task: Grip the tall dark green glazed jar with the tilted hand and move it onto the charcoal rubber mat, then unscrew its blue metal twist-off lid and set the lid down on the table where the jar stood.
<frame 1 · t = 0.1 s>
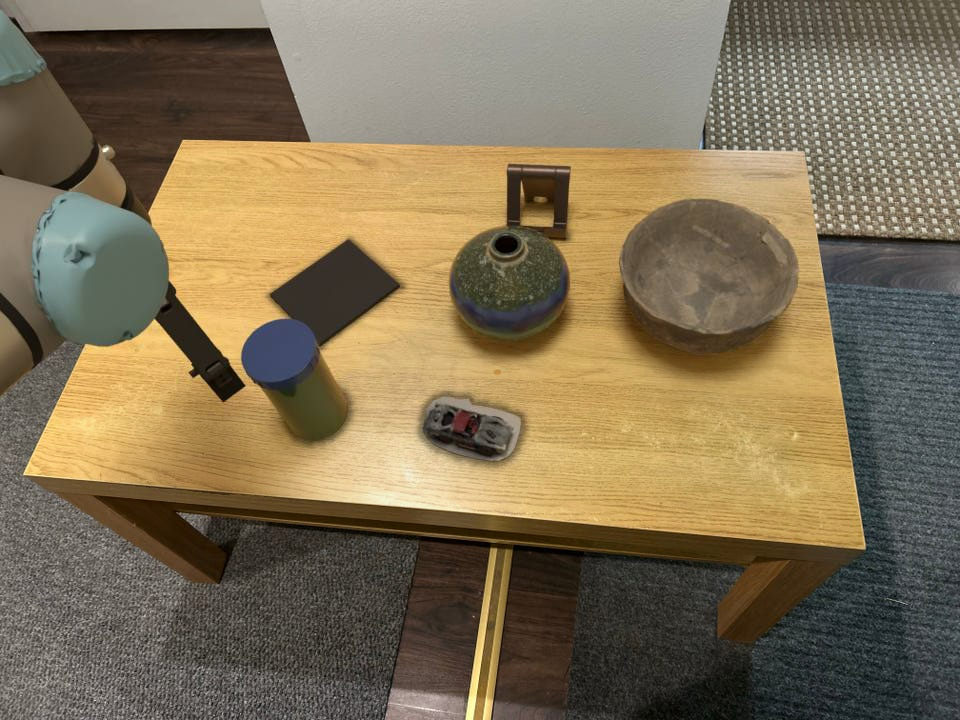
hand: (199, 351, 72), 17 cm above the table, tool pointing down, fingers open, 13 cm apart
mat: (335, 291, 96), on the table
bowl: (692, 310, 90), on the table
vase: (511, 310, 92), on the table
toy car: (471, 429, 84), on the table
jar: (317, 413, 86), on the table
tablet stand: (537, 219, 101), on the table
lid: (279, 351, 74), point 15 cm above the table, screwed on, not yet turned
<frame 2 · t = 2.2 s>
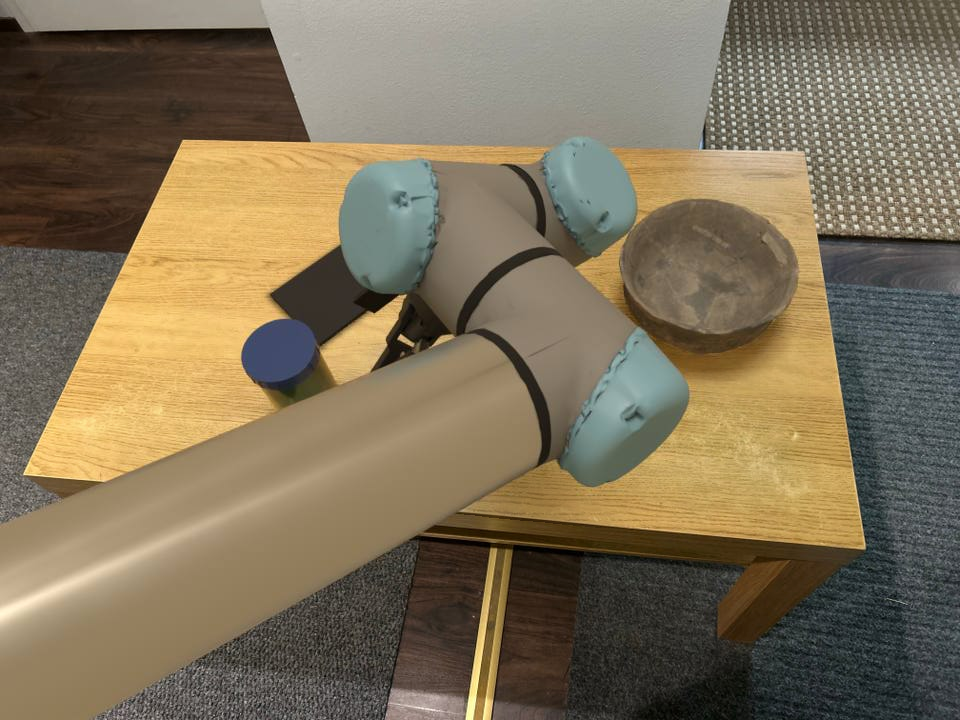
hand: (349, 359, 71), 16 cm above the table, tool tilted 40°, fingers open, 13 cm apart
nothing on the table moved.
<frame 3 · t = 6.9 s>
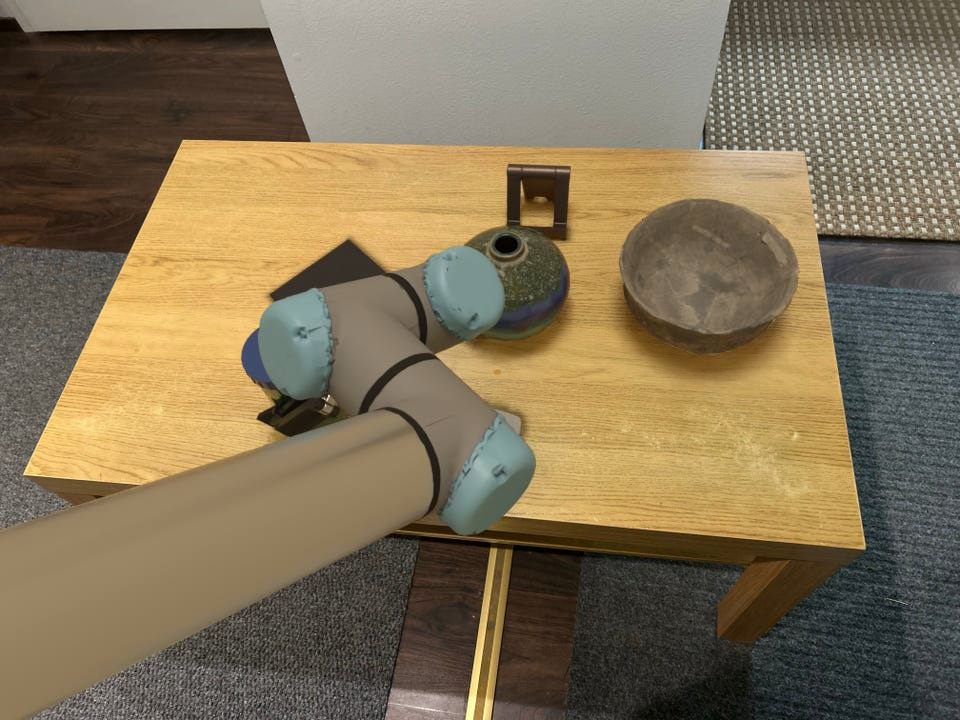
hand: (280, 391, 83), 5 cm above the table, tool tilted 45°, fingers closed on jar, 8 cm apart
jar: (317, 413, 86), on the table, touching gripper
everything else where it was.
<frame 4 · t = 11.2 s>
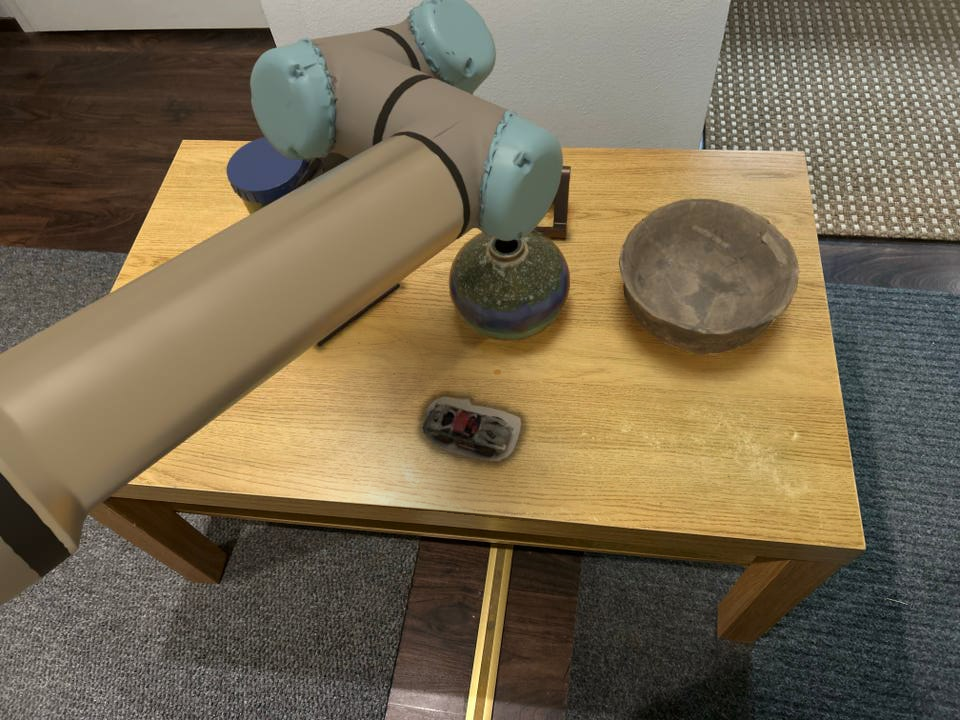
hand: (269, 227, 81), 17 cm above the table, tool tilted 45°, fingers closed on jar, 8 cm apart
jar: (307, 256, 84), point 12 cm above the table, touching gripper
lid: (266, 165, 72), point 27 cm above the table, screwed on, not yet turned
everything else where it was.
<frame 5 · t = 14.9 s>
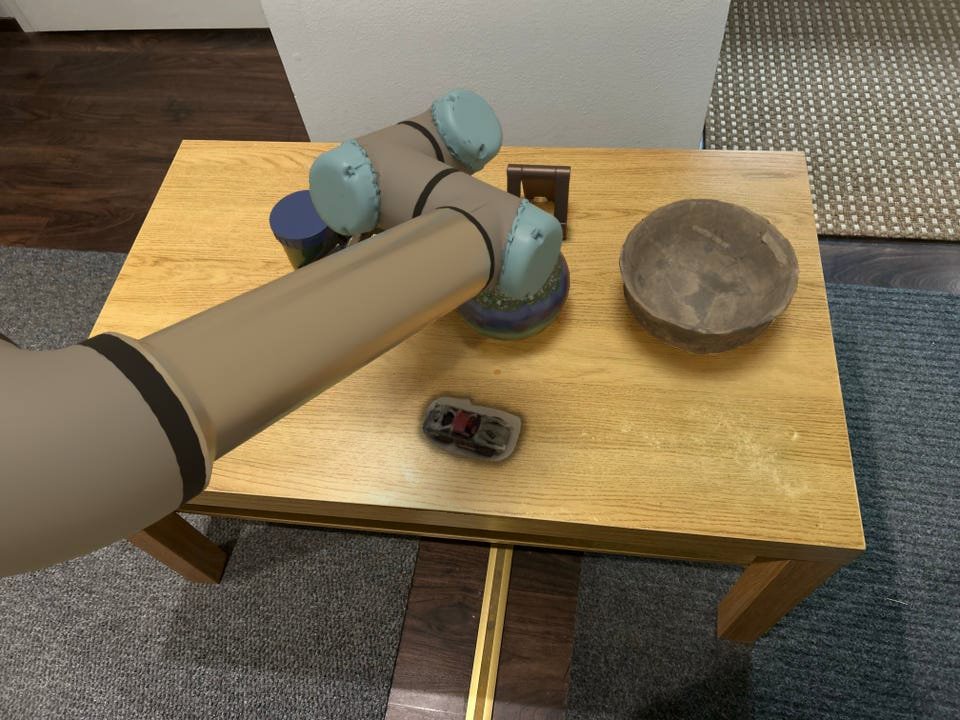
hand: (301, 265, 93), 5 cm above the table, tool tilted 45°, fingers closed on jar, 8 cm apart
jar: (334, 289, 96), point 1 cm above the table, touching gripper, mat
lid: (303, 216, 83), point 15 cm above the table, screwed on, not yet turned
everything else where it was.
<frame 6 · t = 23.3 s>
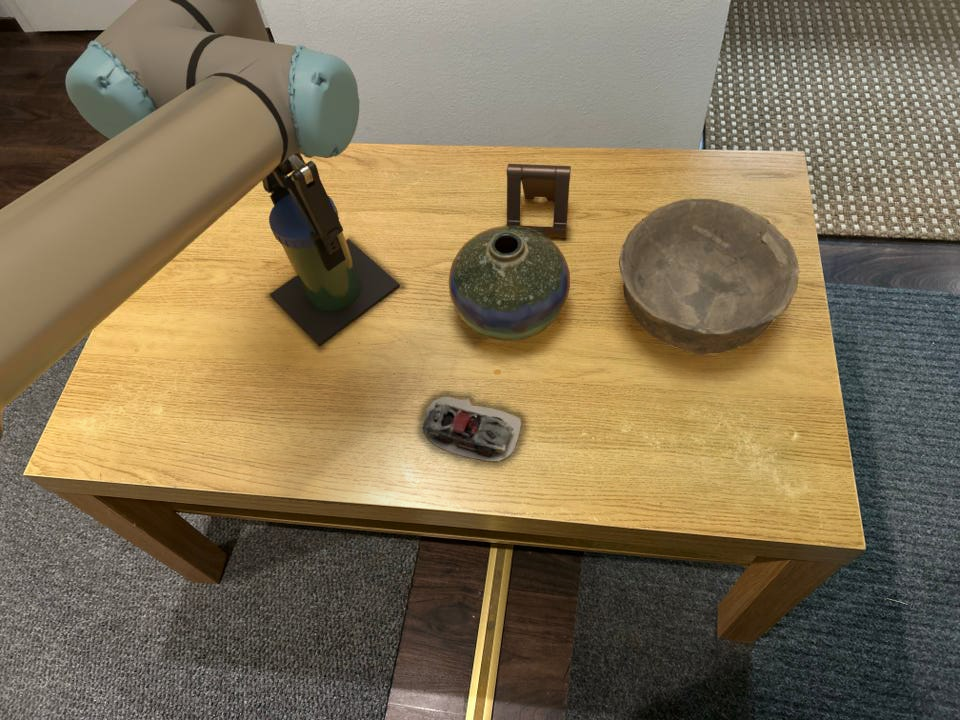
hand: (315, 245, 88), 10 cm above the table, tool pointing down, fingers closed on lid, 8 cm apart
jar: (334, 289, 96), point 1 cm above the table, touching mat
lid: (302, 215, 83), point 15 cm above the table, screwed on, not yet turned, touching gripper
everything else where it was.
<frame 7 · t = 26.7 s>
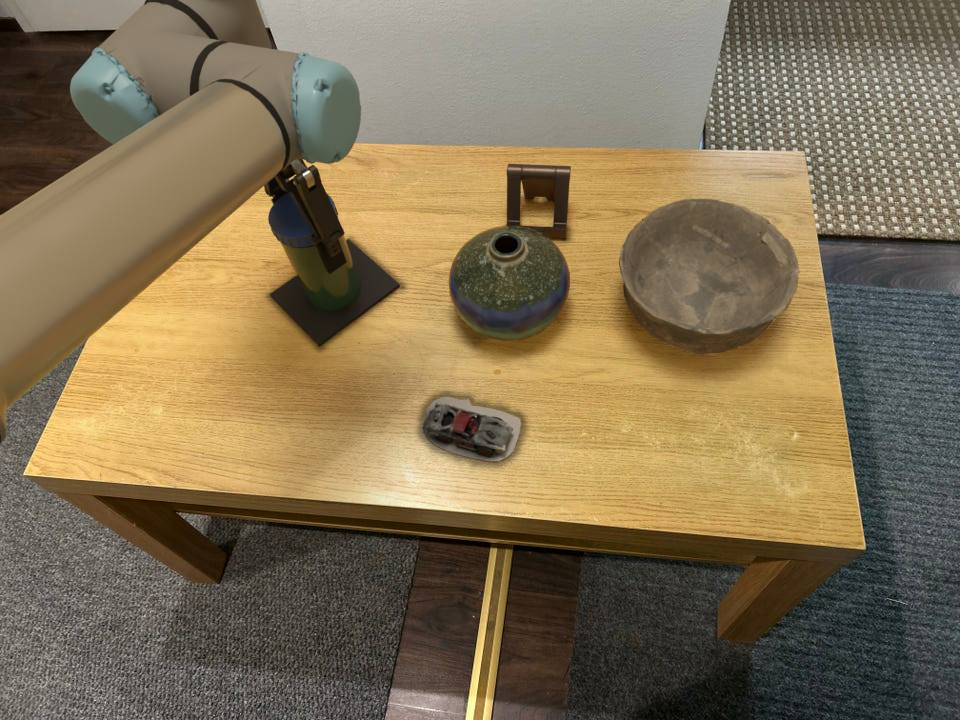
hand: (316, 248, 89), 9 cm above the table, tool pointing down, fingers closed on lid, 8 cm apart
lid: (302, 214, 83), point 15 cm above the table, turned 84° so far, risen 0.2 cm, still on its thread, touching gripper
everything else where it was.
when the fingers open (2 cm above the table, at t = 36.2 s): lid drops 7 cm, point 1 cm above the table.
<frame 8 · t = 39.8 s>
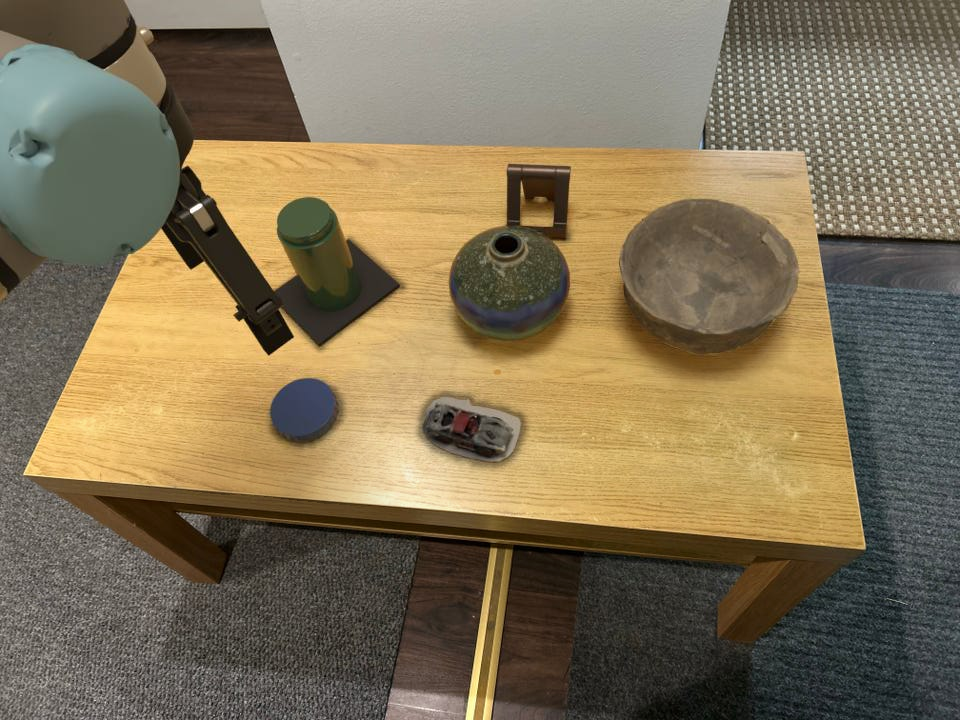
hand: (238, 300, 63), 27 cm above the table, tool pointing down, fingers open, 13 cm apart
lid: (303, 407, 85), point 1 cm above the table, off its thread
everything else where it was.
at the end: jar inside the target area on the mat (0.1 cm from its centre), point 0.6 cm above the mat's base; lid point 1.4 cm above the table; the gripper is holding nothing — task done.
